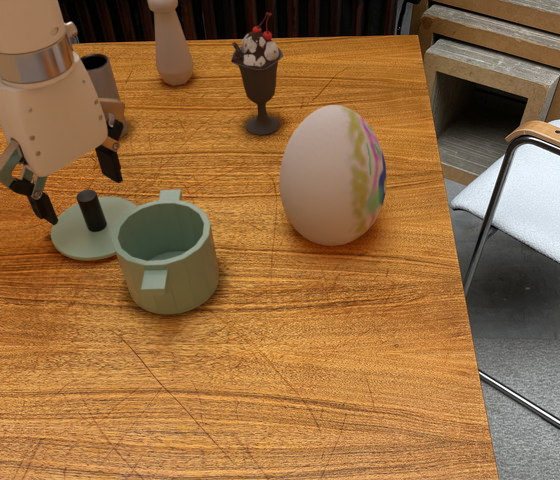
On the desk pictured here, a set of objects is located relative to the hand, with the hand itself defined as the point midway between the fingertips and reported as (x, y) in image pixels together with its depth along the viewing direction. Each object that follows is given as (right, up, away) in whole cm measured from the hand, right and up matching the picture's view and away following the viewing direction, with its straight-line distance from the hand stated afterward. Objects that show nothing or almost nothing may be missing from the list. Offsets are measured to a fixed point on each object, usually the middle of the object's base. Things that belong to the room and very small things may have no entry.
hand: (81, 198), depth 75 cm
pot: (+11, -10, -2) cm, 15 cm away
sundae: (+21, +15, +16) cm, 30 cm away
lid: (+1, -3, +3) cm, 5 cm away
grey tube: (-1, +14, +17) cm, 22 cm away
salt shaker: (+7, +26, +25) cm, 37 cm away
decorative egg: (+30, -3, +3) cm, 30 cm away
